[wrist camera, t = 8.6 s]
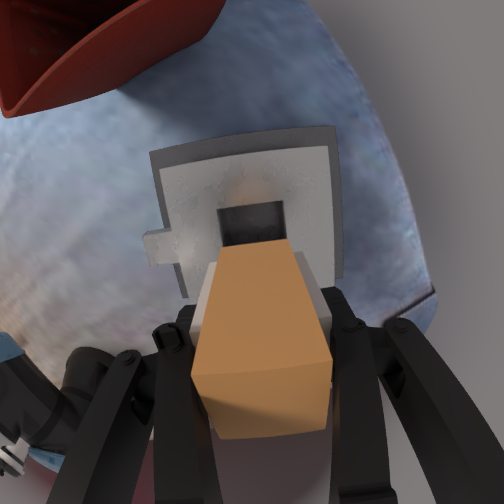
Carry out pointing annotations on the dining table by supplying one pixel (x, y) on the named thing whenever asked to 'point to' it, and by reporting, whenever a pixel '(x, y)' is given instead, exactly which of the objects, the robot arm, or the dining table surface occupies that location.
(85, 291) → the dining table surface
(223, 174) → the tabbed square frame
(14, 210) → the dining table surface
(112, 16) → the plant pot
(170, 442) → the robot arm
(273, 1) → the dining table surface
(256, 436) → the orange rectangular block
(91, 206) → the dining table surface
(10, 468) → the coffee press
